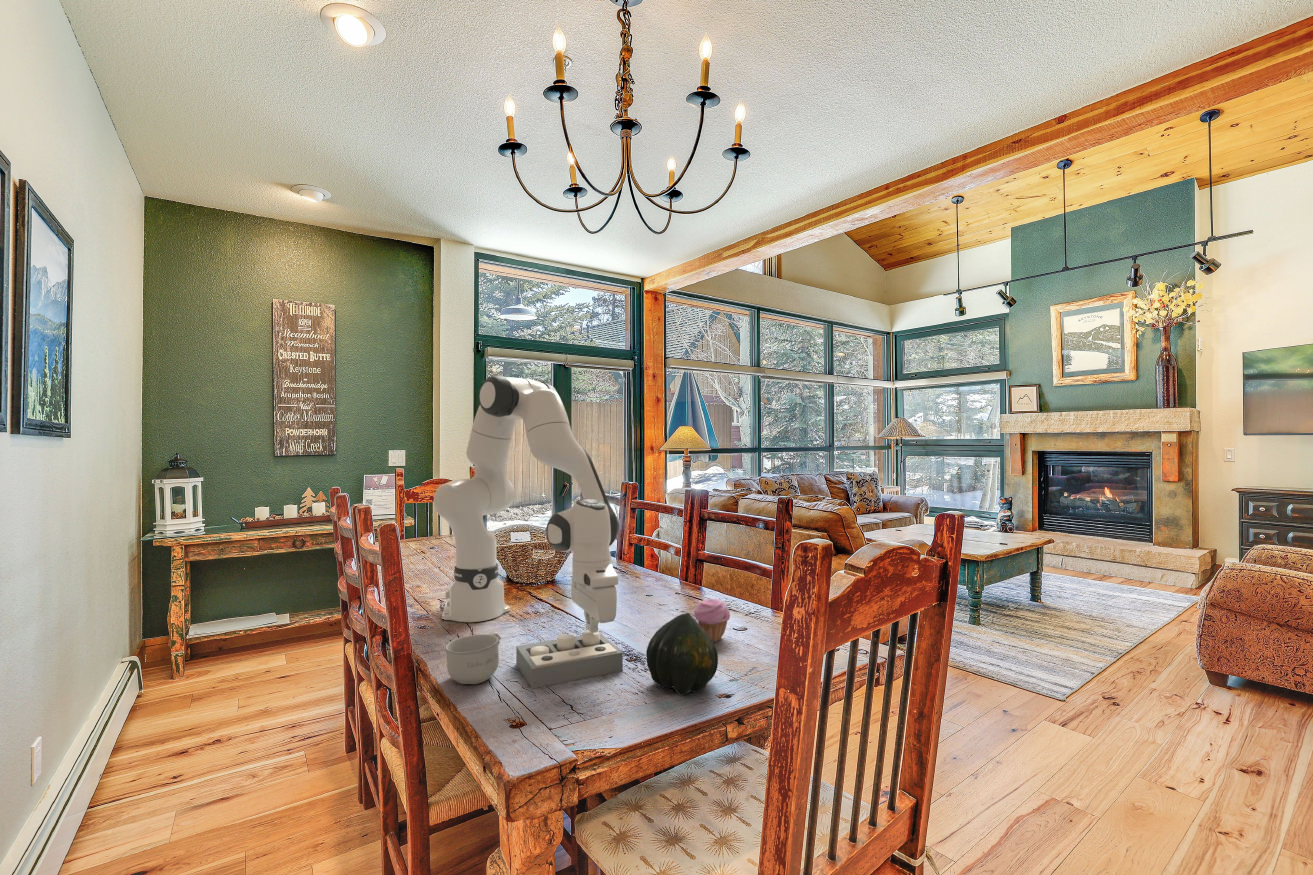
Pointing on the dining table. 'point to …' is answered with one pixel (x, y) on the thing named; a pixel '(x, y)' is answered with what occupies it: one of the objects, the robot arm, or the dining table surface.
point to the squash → (682, 655)
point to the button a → (539, 650)
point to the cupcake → (712, 617)
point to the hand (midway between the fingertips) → (592, 630)
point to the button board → (568, 662)
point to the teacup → (473, 658)
